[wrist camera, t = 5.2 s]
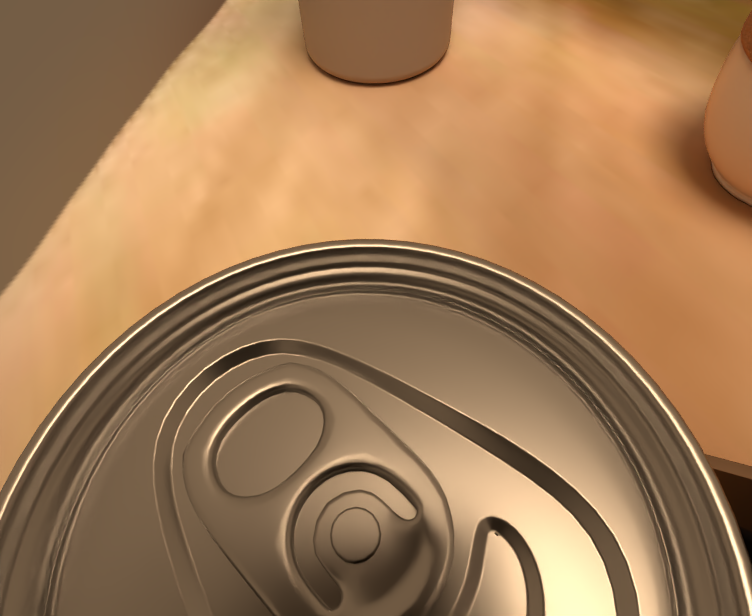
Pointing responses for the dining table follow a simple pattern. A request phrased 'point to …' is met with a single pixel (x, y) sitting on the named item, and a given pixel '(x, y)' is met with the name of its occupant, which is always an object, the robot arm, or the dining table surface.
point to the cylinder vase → (376, 37)
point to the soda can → (367, 457)
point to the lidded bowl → (732, 119)
